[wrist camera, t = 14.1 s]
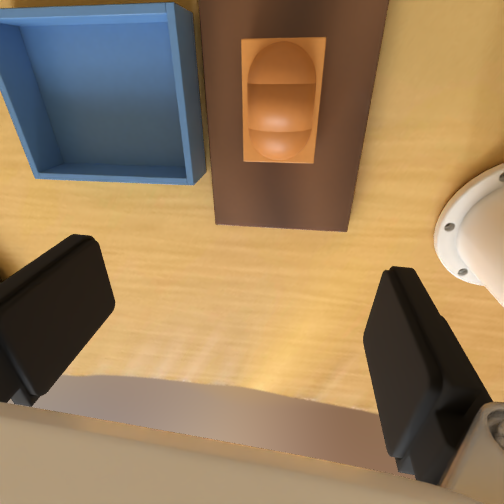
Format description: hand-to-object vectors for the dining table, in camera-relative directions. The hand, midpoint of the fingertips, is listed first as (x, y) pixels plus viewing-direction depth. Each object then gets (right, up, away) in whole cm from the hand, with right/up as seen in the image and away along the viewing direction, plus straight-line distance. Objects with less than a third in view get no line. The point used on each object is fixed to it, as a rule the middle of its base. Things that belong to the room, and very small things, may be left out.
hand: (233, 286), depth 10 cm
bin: (-11, +15, +17) cm, 25 cm away
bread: (+3, +13, +14) cm, 19 cm away
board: (+3, +14, +15) cm, 20 cm away
